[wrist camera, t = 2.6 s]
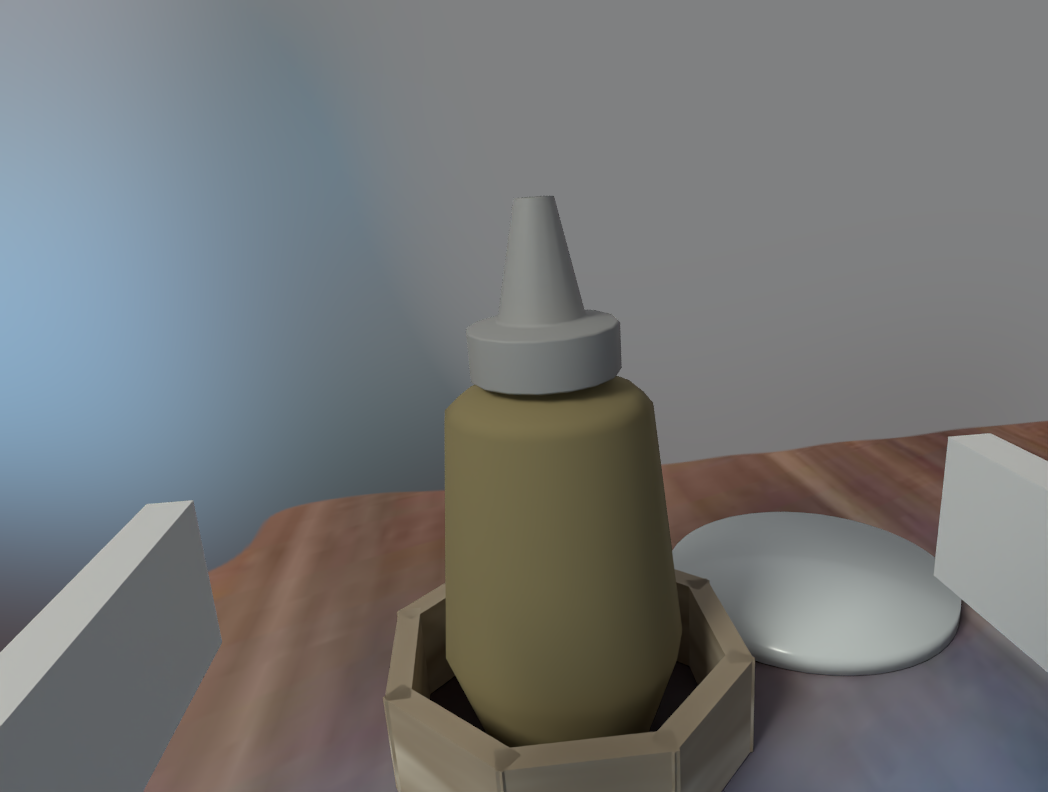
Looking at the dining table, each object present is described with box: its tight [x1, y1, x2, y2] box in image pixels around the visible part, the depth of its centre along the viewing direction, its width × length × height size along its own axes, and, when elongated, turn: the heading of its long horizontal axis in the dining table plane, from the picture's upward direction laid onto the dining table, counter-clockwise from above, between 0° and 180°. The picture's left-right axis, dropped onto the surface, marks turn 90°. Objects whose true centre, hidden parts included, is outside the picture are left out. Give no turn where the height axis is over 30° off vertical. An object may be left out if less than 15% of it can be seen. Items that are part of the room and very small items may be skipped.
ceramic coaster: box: [672, 512, 961, 676], centre depth 33 cm, size 12×12×1 cm
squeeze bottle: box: [445, 196, 682, 748], centre depth 24 cm, size 8×8×18 cm
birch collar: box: [383, 569, 755, 792], centre depth 26 cm, size 12×12×4 cm
